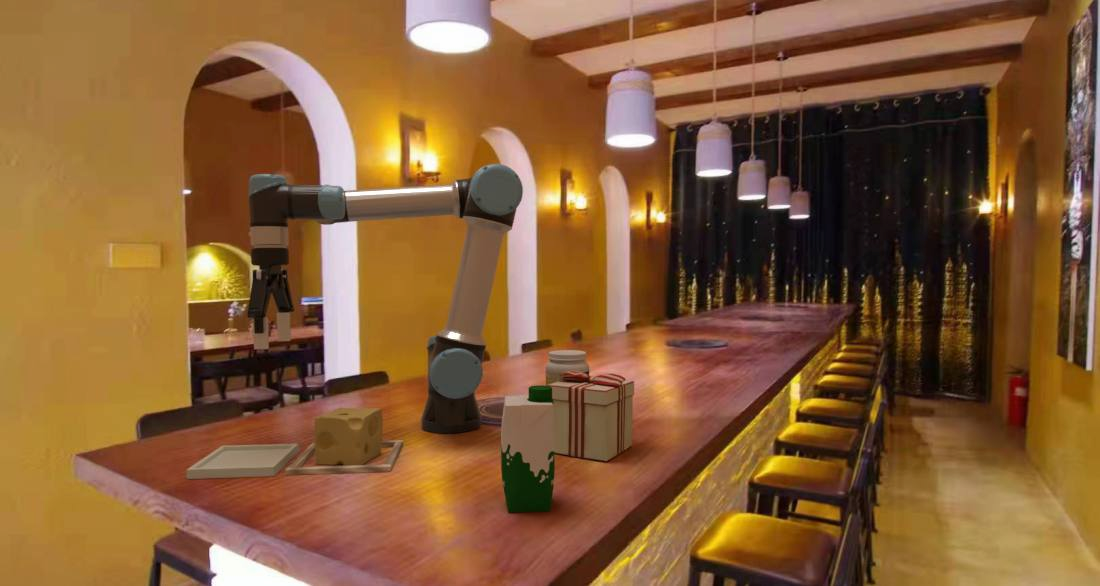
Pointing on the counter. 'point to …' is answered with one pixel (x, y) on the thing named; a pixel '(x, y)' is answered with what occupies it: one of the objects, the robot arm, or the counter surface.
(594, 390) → the gift box
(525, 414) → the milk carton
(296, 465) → the wooden square frame
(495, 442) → the counter surface
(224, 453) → the plate
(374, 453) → the cheese
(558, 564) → the counter surface
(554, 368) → the supplement tub
